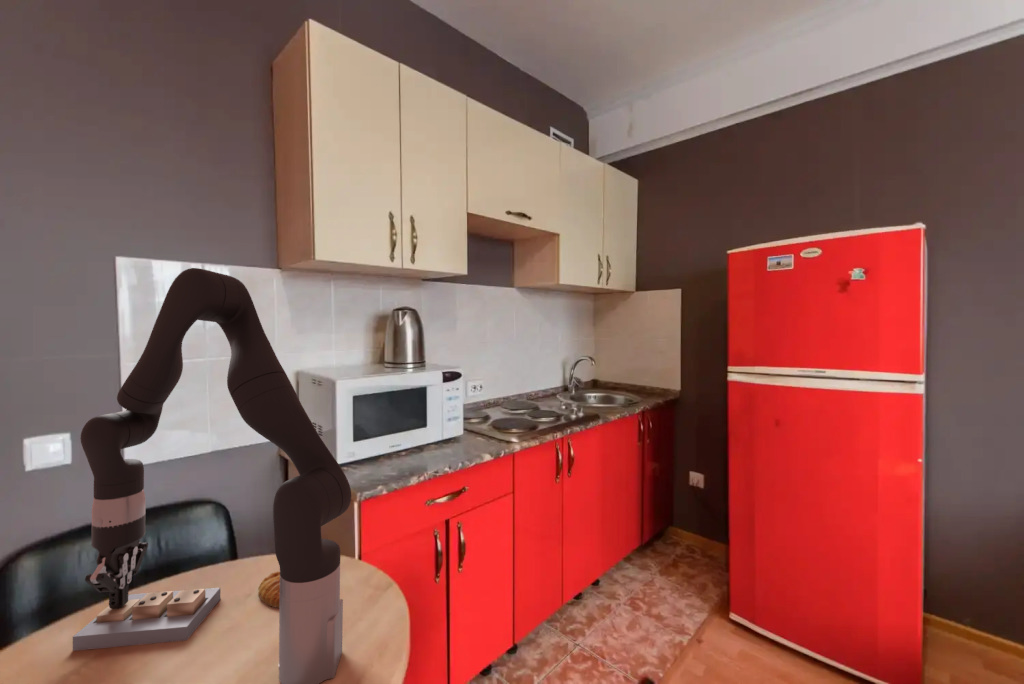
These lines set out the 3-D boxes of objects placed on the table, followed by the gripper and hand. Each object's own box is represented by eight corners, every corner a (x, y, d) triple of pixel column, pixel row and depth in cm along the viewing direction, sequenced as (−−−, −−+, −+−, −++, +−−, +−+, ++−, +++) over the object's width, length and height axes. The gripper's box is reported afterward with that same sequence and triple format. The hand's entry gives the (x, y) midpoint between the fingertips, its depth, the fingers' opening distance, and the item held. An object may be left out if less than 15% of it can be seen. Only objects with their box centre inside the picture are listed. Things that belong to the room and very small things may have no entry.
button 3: (173, 603, 84) (173, 589, 84) (158, 617, 80) (158, 603, 80) (148, 605, 83) (148, 591, 83) (132, 620, 79) (132, 605, 79)
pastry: (304, 600, 90) (304, 582, 90) (270, 615, 85) (270, 597, 84) (287, 582, 96) (287, 565, 96) (254, 595, 91) (254, 578, 91)
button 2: (205, 600, 85) (205, 587, 85) (192, 615, 81) (192, 601, 81) (180, 602, 84) (181, 589, 84) (166, 617, 80) (167, 603, 80)
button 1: (140, 611, 83) (140, 597, 83) (123, 626, 79) (123, 612, 79) (114, 613, 82) (114, 599, 82) (96, 629, 78) (96, 614, 78)
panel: (220, 599, 89) (220, 587, 89) (186, 640, 77) (186, 626, 77) (123, 606, 86) (123, 594, 86) (72, 650, 74) (72, 636, 74)
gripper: (115, 531, 74) (115, 628, 75) (163, 501, 87) (163, 584, 88) (66, 533, 73) (65, 632, 73) (122, 503, 86) (122, 586, 86)
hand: (118, 605), depth 81 cm, fingers closed
